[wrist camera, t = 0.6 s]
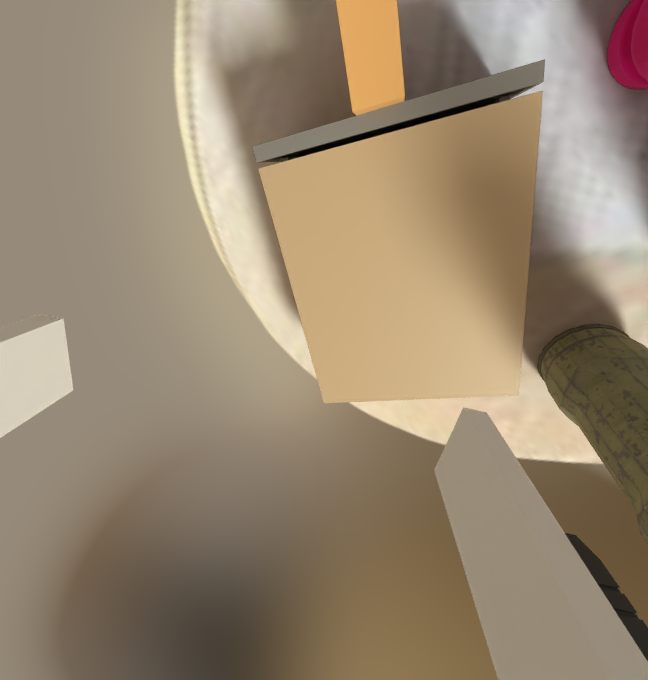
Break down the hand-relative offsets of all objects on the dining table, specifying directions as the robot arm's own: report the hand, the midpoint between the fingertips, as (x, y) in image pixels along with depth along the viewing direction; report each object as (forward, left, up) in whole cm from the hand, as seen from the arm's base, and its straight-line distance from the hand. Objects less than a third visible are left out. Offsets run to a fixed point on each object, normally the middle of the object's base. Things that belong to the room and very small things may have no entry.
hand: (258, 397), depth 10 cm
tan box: (-4, +4, -26) cm, 27 cm away
